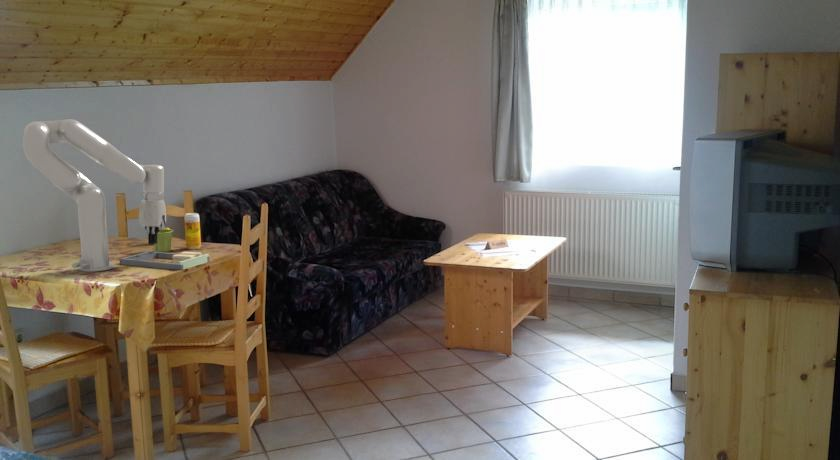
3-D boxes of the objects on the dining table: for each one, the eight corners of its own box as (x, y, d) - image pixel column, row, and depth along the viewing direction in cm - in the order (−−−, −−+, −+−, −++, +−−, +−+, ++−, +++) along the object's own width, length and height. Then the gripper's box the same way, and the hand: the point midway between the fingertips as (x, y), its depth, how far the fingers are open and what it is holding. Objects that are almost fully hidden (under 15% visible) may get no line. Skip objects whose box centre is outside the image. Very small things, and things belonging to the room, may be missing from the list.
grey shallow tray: (181, 270, 287) (180, 262, 286) (119, 263, 298) (119, 256, 298) (209, 261, 301) (208, 254, 301) (149, 255, 313) (149, 248, 313)
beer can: (184, 249, 326) (182, 214, 323) (189, 247, 332) (187, 212, 329) (198, 249, 326) (196, 214, 323) (203, 246, 332) (201, 212, 329)
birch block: (191, 266, 294) (190, 256, 293) (172, 265, 296) (172, 255, 295) (202, 262, 301) (201, 252, 301) (184, 261, 303) (183, 251, 303)
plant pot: (159, 254, 316) (158, 233, 315) (146, 251, 322) (145, 231, 321) (179, 250, 324) (177, 230, 322) (165, 248, 329) (164, 228, 328)
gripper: (131, 195, 296) (130, 242, 298) (161, 199, 290) (161, 246, 293) (145, 194, 303) (144, 240, 305) (175, 198, 297) (174, 244, 300)
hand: (152, 243), depth 299 cm, fingers closed
